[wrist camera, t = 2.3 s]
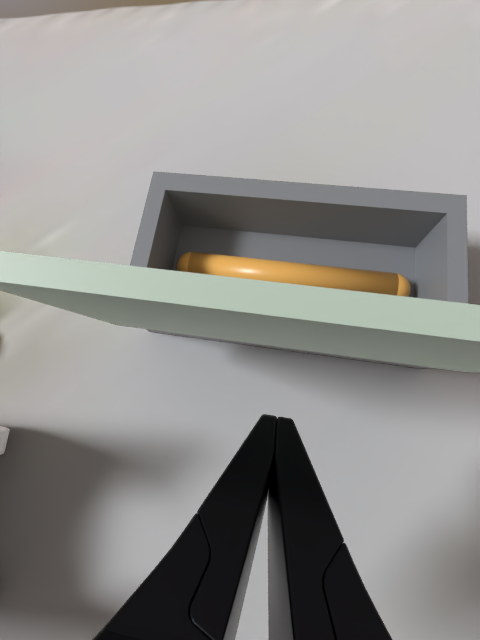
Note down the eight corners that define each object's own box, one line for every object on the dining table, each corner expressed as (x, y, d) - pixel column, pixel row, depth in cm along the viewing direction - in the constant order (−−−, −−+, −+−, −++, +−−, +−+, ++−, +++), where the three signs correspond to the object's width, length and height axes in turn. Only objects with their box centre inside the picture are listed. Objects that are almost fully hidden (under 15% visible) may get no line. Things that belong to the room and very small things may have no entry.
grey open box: (422, 368, 21) (469, 357, 16) (149, 331, 23) (118, 311, 18) (424, 240, 23) (466, 195, 18) (175, 216, 25) (153, 171, 20)
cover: (468, 355, 16) (467, 372, 16) (119, 310, 18) (116, 325, 18) (737, 333, 7) (740, 373, 6) (-41, 246, 9) (-49, 276, 9)
